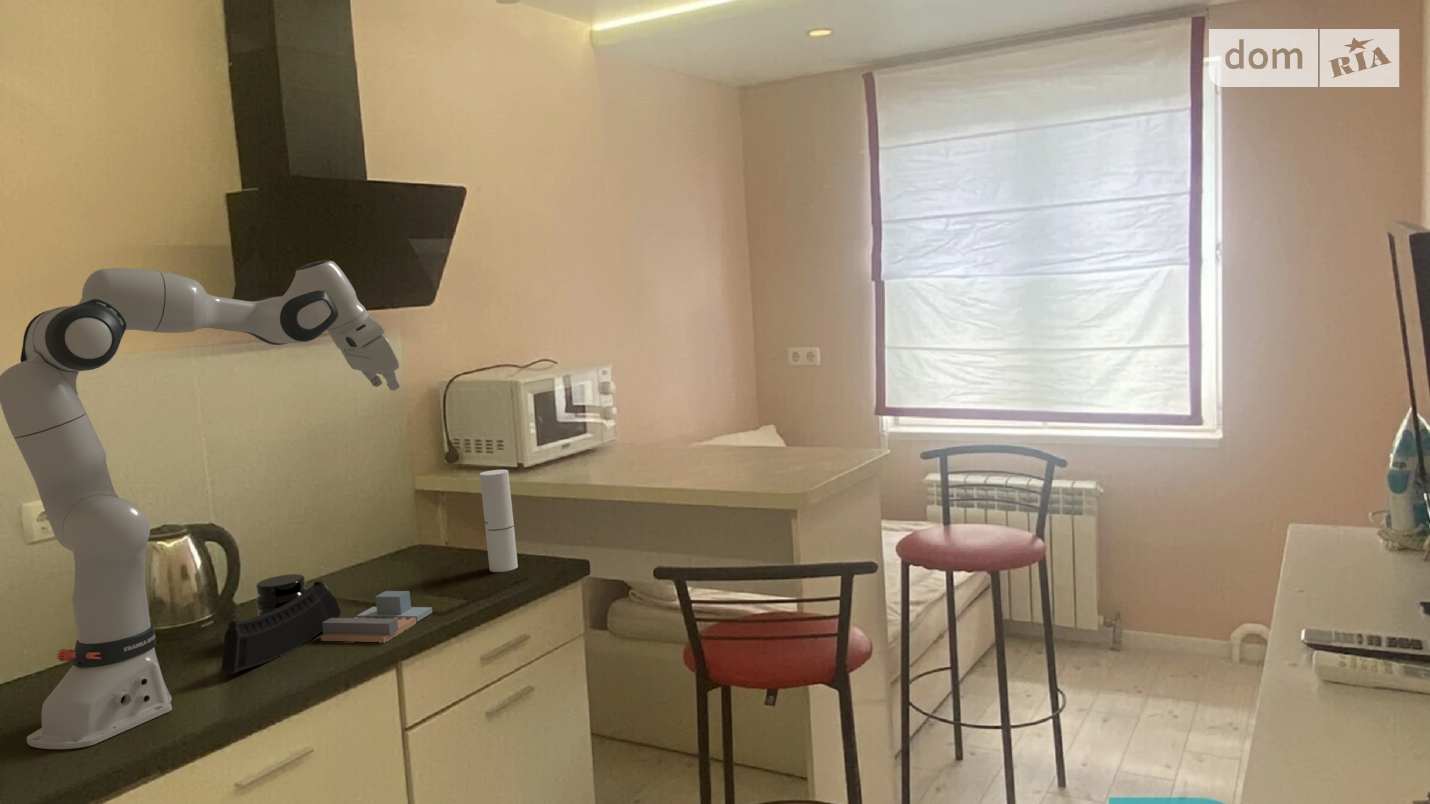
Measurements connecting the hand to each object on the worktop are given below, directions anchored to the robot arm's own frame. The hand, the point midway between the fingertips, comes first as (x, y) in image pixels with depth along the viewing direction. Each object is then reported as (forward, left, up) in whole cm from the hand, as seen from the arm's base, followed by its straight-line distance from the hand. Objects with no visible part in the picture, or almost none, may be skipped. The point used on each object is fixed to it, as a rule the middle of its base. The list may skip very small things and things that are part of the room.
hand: (386, 387), depth 211 cm
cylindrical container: (+39, -2, -51) cm, 65 cm away
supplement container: (-11, +24, -51) cm, 58 cm away
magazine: (-20, +17, -51) cm, 58 cm away
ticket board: (-9, +5, -51) cm, 52 cm away
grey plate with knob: (+1, +5, -51) cm, 51 cm away
